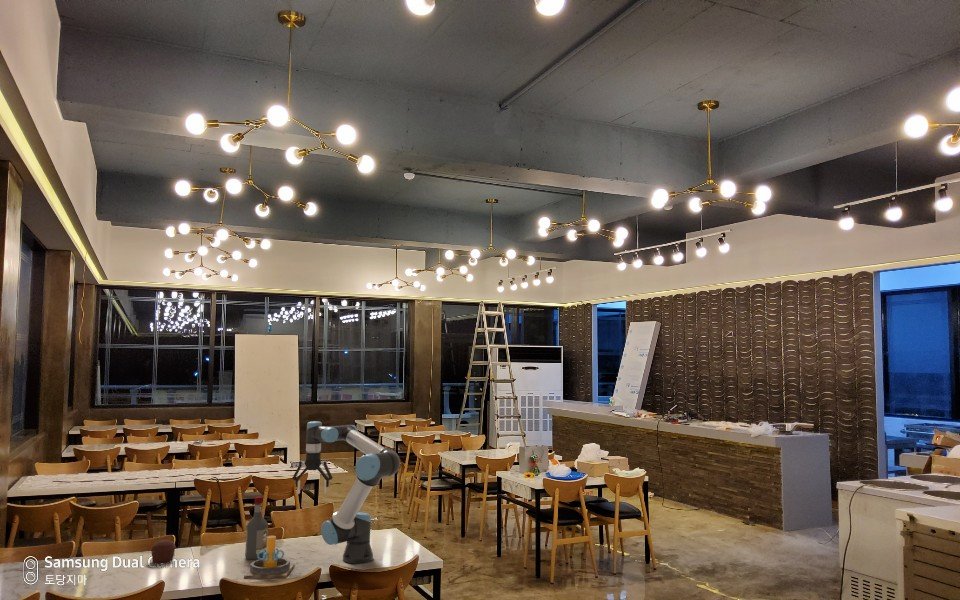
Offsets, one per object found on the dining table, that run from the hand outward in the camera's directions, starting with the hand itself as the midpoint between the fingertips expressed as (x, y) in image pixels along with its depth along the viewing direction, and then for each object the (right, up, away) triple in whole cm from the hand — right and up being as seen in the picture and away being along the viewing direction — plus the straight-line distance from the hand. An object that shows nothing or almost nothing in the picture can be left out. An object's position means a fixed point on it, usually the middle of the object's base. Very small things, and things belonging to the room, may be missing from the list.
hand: (311, 493), depth 349 cm
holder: (-13, -29, -29) cm, 43 cm away
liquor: (-27, -31, -5) cm, 42 cm away
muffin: (-71, -30, -14) cm, 78 cm away
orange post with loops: (-13, -28, -29) cm, 42 cm away
